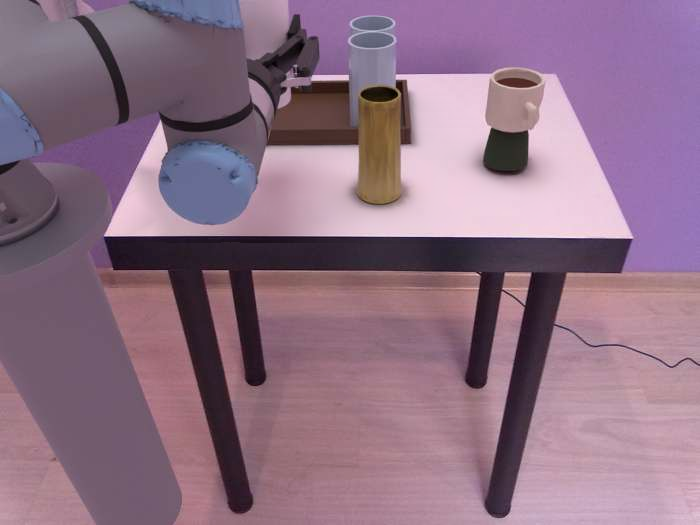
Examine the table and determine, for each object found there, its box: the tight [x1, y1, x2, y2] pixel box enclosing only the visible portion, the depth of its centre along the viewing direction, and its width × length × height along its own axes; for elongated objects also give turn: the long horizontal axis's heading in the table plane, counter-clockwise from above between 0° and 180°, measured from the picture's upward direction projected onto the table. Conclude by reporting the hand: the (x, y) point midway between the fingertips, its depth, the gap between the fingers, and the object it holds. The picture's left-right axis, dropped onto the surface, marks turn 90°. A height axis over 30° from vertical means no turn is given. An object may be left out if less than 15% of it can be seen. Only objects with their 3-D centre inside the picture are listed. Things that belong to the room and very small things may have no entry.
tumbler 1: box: [349, 14, 396, 38], centre depth 100 cm, size 7×7×14 cm
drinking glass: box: [239, 0, 291, 109], centre depth 75 cm, size 7×7×15 cm
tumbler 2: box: [347, 31, 398, 127], centre depth 94 cm, size 7×7×14 cm
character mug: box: [482, 66, 546, 172], centre depth 85 cm, size 11×7×13 cm, turn 15°
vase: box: [356, 85, 403, 205], centre depth 80 cm, size 6×6×14 cm
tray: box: [266, 79, 412, 146], centre depth 101 cm, size 26×18×3 cm
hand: (269, 25), depth 78 cm, fingers closed on drinking glass, 6 cm apart
